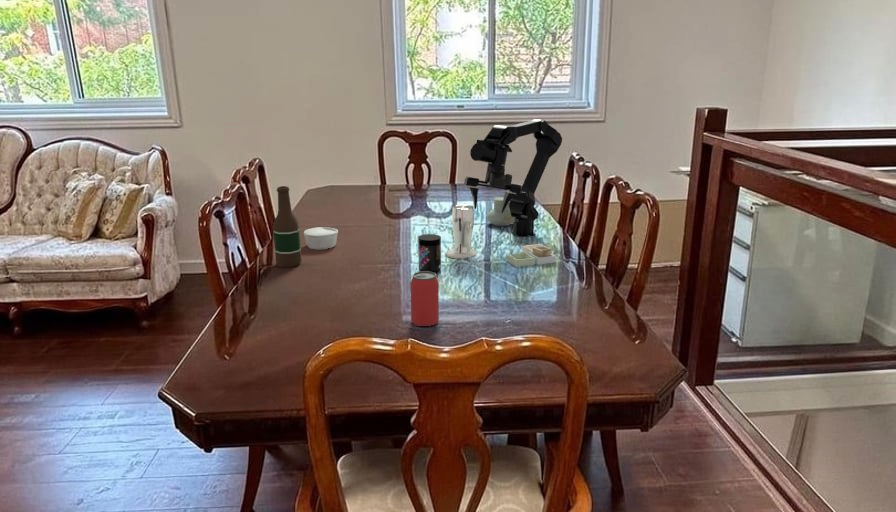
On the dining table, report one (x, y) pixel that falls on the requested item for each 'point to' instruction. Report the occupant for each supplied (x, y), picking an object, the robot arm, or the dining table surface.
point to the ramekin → (321, 237)
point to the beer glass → (462, 228)
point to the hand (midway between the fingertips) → (488, 210)
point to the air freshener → (500, 214)
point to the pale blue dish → (543, 259)
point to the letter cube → (541, 251)
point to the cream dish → (529, 248)
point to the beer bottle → (286, 232)
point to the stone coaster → (457, 256)
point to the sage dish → (520, 259)
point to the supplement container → (429, 252)
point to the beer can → (424, 298)
